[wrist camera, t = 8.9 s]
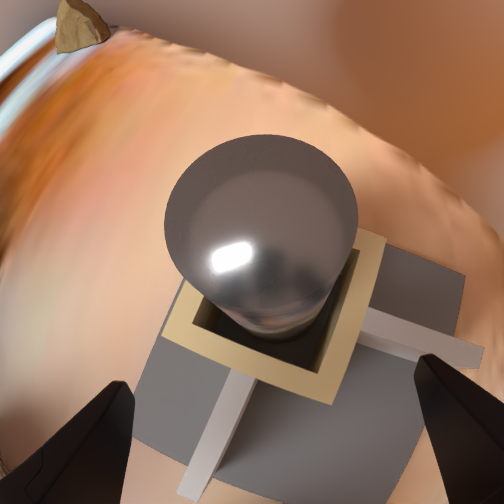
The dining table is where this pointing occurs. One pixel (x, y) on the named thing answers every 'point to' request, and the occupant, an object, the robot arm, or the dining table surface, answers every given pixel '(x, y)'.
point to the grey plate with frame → (304, 384)
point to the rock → (78, 26)
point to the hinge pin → (263, 231)
